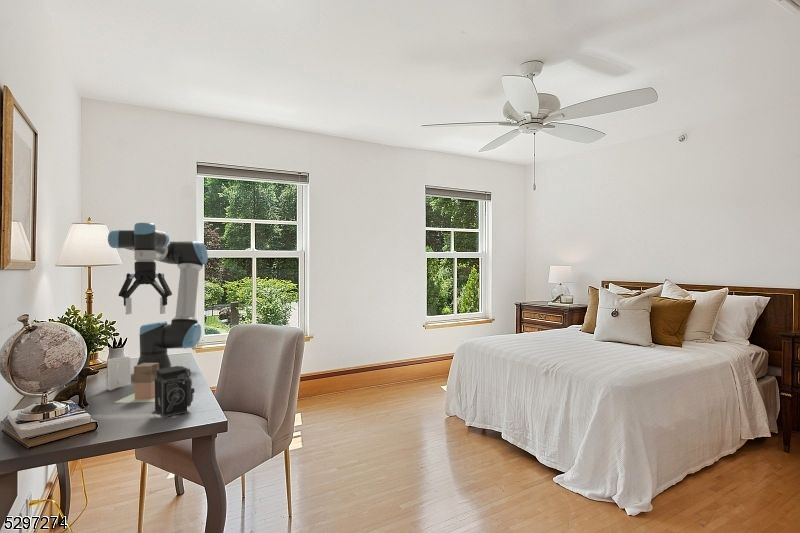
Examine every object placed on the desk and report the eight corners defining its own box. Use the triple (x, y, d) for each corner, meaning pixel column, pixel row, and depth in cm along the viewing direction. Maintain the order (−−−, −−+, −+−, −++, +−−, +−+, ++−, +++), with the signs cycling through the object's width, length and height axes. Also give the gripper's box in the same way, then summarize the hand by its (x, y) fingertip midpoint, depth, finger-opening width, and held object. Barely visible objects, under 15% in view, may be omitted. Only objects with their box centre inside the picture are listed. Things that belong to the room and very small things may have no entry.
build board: (136, 395, 176) (136, 391, 176) (178, 394, 177) (177, 391, 177) (114, 405, 162) (114, 402, 162) (159, 405, 163) (159, 401, 163)
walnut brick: (143, 378, 172) (143, 362, 172) (159, 378, 172) (159, 362, 172) (134, 382, 166) (134, 366, 166) (150, 382, 166) (150, 366, 166)
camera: (197, 412, 154) (196, 368, 154) (163, 420, 146) (162, 373, 146) (185, 406, 161) (185, 363, 161) (153, 413, 154) (152, 368, 154)
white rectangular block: (127, 391, 182) (127, 361, 182) (102, 393, 179) (102, 363, 179) (133, 384, 193) (133, 356, 193) (110, 386, 190) (109, 357, 190)
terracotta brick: (143, 394, 172) (143, 378, 172) (159, 394, 172) (159, 378, 173) (134, 399, 166) (134, 382, 166) (151, 398, 166) (151, 382, 167)
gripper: (108, 261, 180) (108, 315, 180) (171, 260, 180) (172, 314, 180) (119, 261, 187) (120, 313, 187) (180, 261, 188) (181, 312, 187)
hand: (145, 314), depth 184 cm, fingers open, 13 cm apart
